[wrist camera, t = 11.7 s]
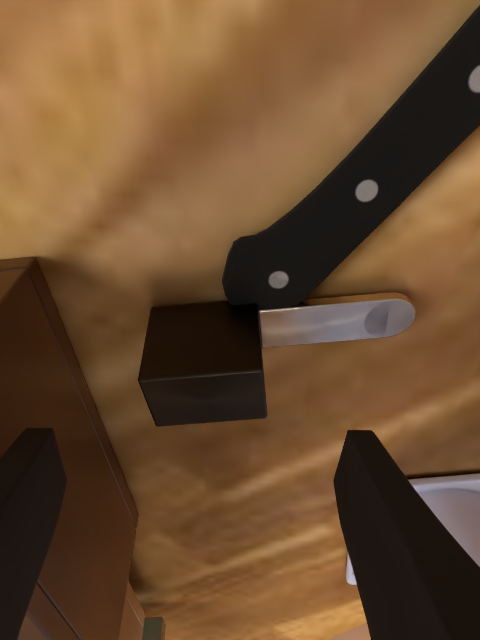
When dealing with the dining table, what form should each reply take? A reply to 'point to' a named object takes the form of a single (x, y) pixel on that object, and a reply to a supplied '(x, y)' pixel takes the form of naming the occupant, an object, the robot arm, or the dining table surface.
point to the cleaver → (363, 182)
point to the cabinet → (78, 461)
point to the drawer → (139, 621)
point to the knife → (245, 350)
